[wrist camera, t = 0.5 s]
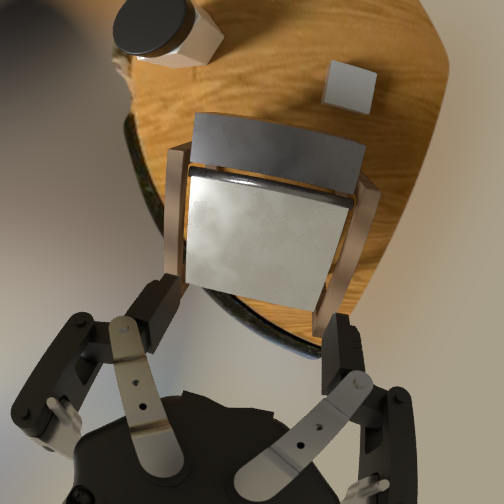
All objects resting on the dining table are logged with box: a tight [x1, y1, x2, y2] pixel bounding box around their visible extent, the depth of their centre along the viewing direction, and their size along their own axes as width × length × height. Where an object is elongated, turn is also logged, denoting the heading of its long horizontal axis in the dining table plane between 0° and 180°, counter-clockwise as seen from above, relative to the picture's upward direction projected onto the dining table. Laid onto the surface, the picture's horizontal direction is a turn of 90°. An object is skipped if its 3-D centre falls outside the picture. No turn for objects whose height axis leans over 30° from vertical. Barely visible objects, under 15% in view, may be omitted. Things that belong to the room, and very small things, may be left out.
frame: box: [164, 141, 382, 338], centre depth 32 cm, size 17×18×13 cm
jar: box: [113, 0, 224, 69], centre depth 22 cm, size 9×8×12 cm
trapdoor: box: [186, 112, 366, 312], centre depth 25 cm, size 18×15×5 cm
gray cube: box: [321, 60, 377, 115], centre depth 26 cm, size 5×5×5 cm
